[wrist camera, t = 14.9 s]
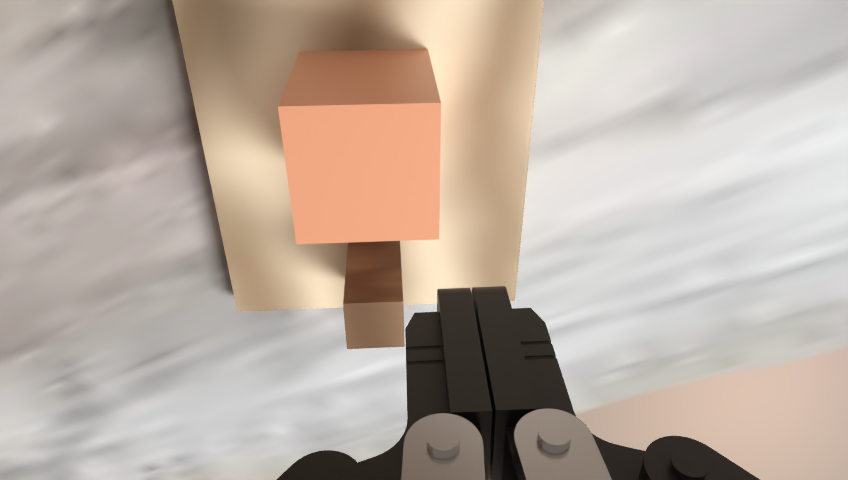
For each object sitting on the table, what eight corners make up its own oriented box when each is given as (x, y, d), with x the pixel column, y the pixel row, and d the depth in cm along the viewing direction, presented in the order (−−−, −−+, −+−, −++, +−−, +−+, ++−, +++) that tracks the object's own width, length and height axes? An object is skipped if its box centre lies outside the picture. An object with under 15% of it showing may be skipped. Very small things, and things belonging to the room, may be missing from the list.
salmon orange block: (428, 49, 26) (441, 102, 21) (427, 164, 29) (439, 239, 23) (299, 51, 26) (277, 106, 20) (312, 168, 29) (296, 244, 23)
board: (560, -255, 22) (569, -260, 21) (510, 287, 35) (514, 300, 34) (129, -258, 21) (117, -264, 20) (241, 297, 34) (237, 311, 33)
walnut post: (399, 238, 31) (403, 301, 27) (400, 279, 32) (404, 346, 28) (348, 239, 31) (342, 303, 27) (351, 281, 32) (347, 349, 28)
